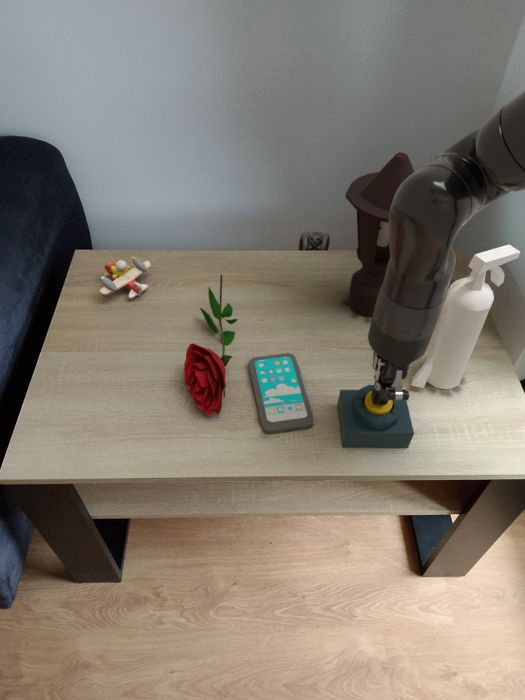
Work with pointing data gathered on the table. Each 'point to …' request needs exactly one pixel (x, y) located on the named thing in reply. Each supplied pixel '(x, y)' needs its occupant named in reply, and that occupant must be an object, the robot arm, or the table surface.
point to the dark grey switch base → (372, 422)
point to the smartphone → (280, 393)
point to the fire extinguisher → (462, 320)
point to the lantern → (374, 229)
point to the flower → (209, 362)
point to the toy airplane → (124, 277)
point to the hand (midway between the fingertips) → (378, 400)
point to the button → (377, 406)
